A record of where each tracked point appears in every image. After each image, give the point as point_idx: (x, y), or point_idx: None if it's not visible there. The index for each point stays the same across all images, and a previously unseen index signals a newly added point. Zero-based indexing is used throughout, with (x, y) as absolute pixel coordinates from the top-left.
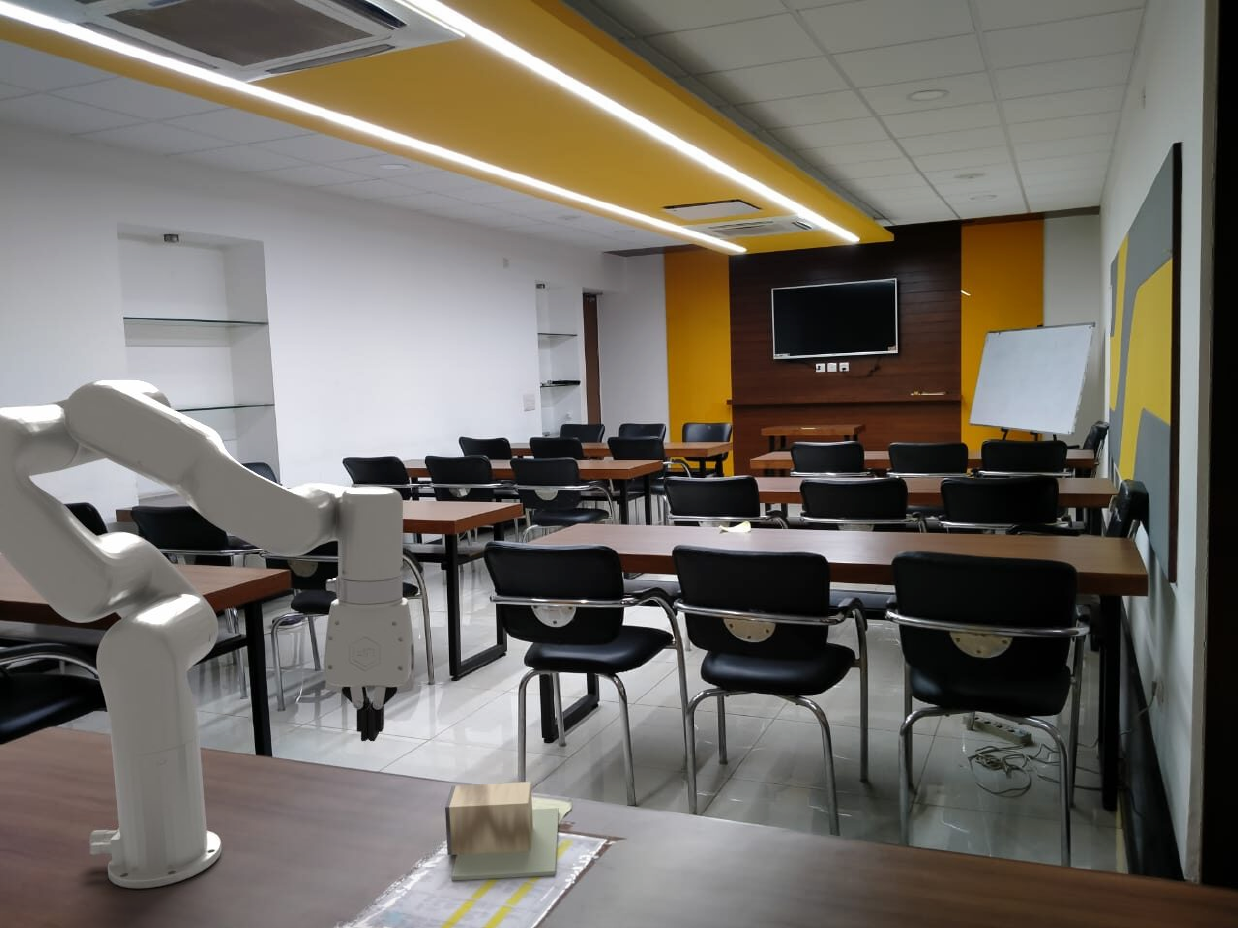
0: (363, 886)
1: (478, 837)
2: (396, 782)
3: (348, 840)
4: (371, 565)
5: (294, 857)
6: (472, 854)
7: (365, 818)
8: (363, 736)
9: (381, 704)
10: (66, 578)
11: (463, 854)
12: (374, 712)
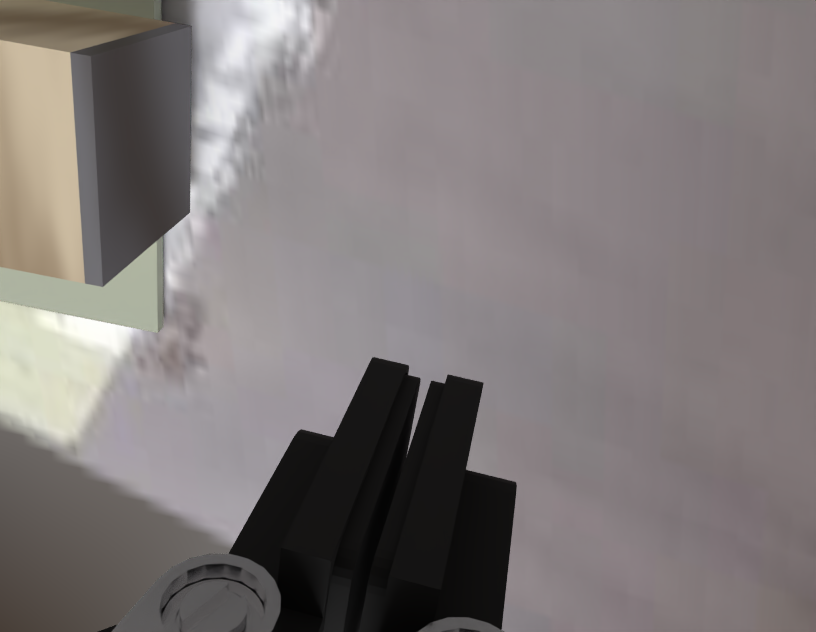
0: None
1: (31, 9)
2: None
3: (580, 289)
4: None
5: (790, 220)
6: (94, 1)
7: (519, 424)
8: (457, 395)
9: (175, 600)
10: None
11: (130, 12)
12: (292, 538)
